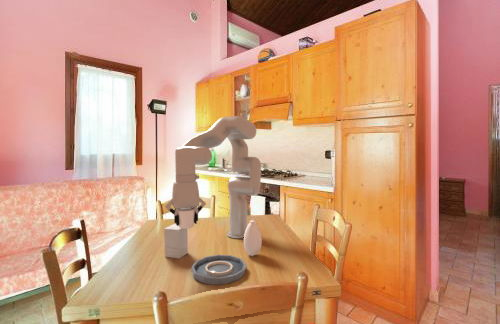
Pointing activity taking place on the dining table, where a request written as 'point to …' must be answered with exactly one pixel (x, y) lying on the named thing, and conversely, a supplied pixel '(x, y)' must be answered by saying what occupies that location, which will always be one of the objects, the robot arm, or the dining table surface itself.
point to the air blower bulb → (252, 238)
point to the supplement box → (175, 241)
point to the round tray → (218, 269)
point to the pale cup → (186, 217)
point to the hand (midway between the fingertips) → (186, 223)
